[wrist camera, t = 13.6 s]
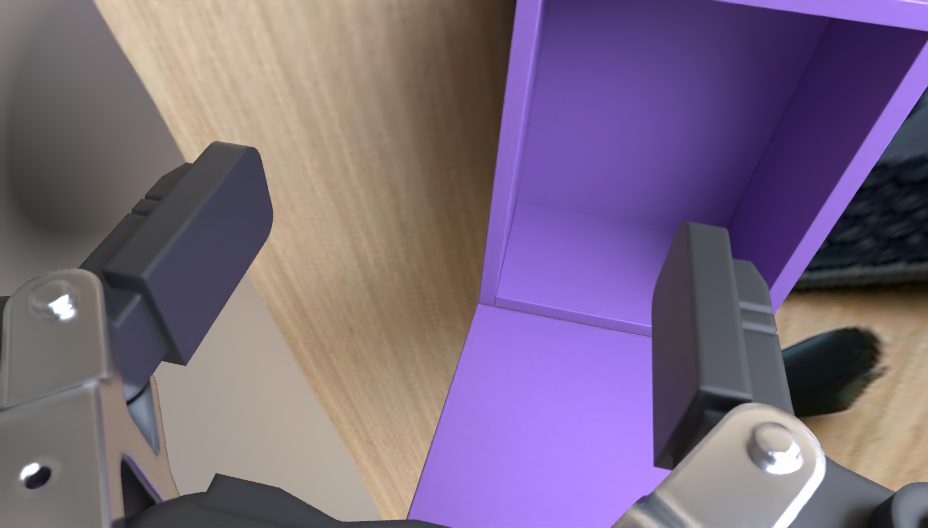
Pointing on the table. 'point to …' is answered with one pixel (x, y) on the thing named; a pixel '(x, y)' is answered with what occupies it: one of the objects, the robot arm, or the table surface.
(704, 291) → the robot arm
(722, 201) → the box
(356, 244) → the table surface
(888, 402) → the table surface
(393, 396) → the table surface
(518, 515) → the file lid
